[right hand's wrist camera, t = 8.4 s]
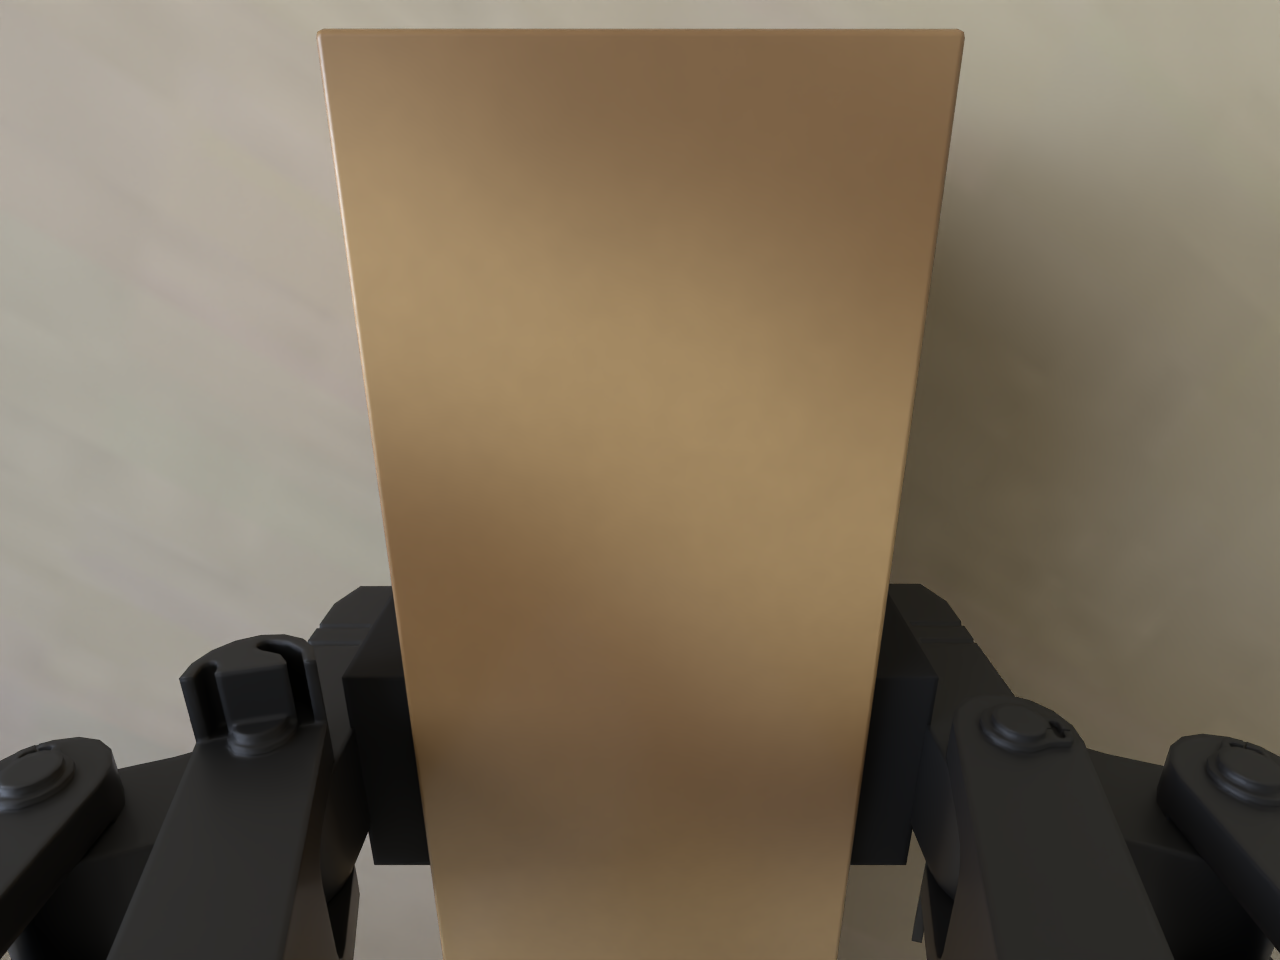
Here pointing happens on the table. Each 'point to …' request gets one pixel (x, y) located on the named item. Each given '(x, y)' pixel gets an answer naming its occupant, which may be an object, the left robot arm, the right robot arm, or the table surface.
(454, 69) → the post
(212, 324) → the table surface
